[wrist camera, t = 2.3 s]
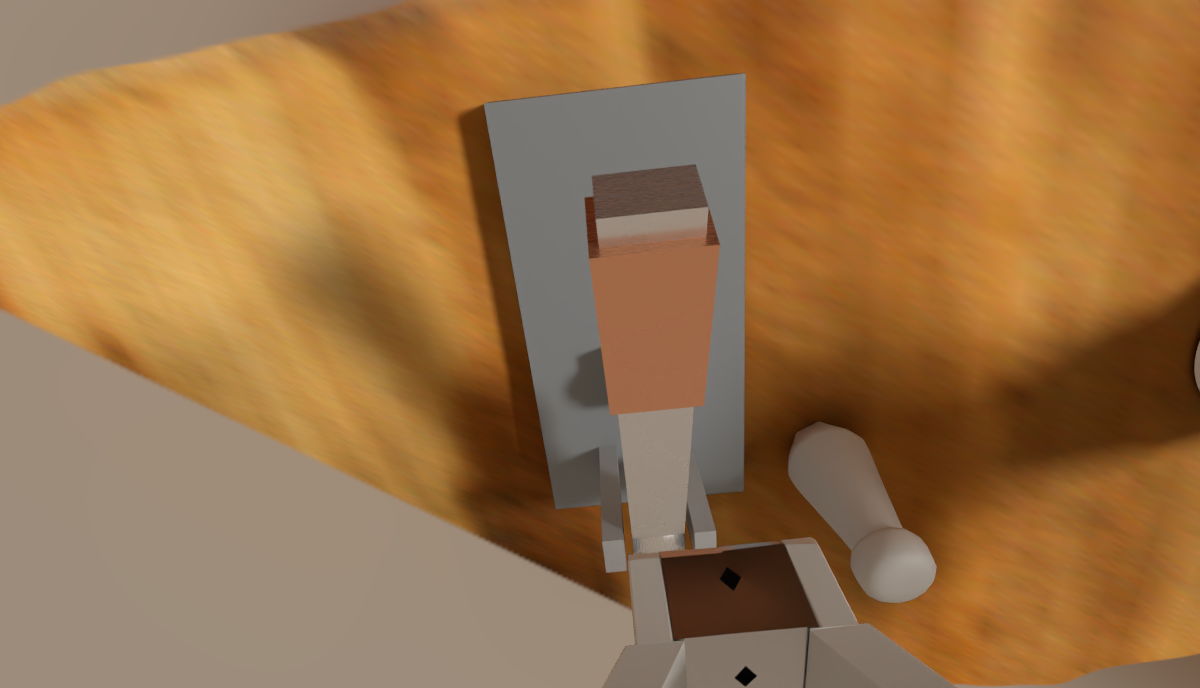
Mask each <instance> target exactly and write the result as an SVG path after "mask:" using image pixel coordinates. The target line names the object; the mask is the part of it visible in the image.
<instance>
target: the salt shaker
mask: <svg viewBox="0 0 1200 688" xmlns="http://www.w3.org/2000/svg"><path fill="white" fill-rule="evenodd" d="M788 474H789V477H790V479H791V480H792V482H793V484H794V485H795V487H796V488H797V489H798V491H799V492H800V493H801V494H802V495H803V496H804V497H805V498H806V500H807V501H808V502H809V503H810V504H811V505H812V506H813V507H814V508H815V510H816V511H817V512H818V513H819V514H820V515H821V516H822V517H823V519H824V520H825V521H826V522H827V523H828V524H829V525H830V526H831V528H832V529H833V530H834V531H835V532H836V533H837V534H838V535H839V537H840V538H841V539H842V540H843V541H844V543H845V544H846V545H847V546H848V547H849V548H850V550H851V551H852V552H851V560H850V566H851V570H852V572H853V574H854V576H855V578H856V580H857V581H858V583H859V584H860V586H861V587H862V589H863V590H864V591H865V592H866V594H867V595H868V596H870V597H872V598H874V599H876V600H878V601H881V602H889V603H901V602H905V601H909V600H913V599H915V598H916V597H918V596H920V595H921V594H923V593H924V592H925V591H926V590H927V589H928V588H929V586H930V585H931V584H932V583H933V581H934V579H935V574H936V568H937V566H936V564H935V562H934V559H933V557H932V555H931V553H930V551H929V549H928V547H927V545H926V544H925V543H924V542H923V540H922V539H921V538H920V537H919V536H917V535H916V534H914V533H912V532H910V531H908V530H907V529H905V528H902V526H901V523H900V521H899V519H898V517H897V514H896V512H895V510H894V507H893V505H892V503H891V501H890V498H889V496H888V494H887V491H886V489H885V487H884V484H883V482H882V480H881V478H880V475H879V473H878V470H877V468H876V465H875V463H874V460H873V458H872V455H871V453H870V451H869V449H868V447H867V445H866V443H865V441H864V440H863V439H862V438H861V437H860V436H858V435H856V434H854V433H853V432H851V431H849V430H848V429H845V428H841V427H837V426H833V425H829V424H826V423H823V422H819V421H818V422H816V423H814V424H812V425H810V426H808V427H806V428H804V429H802V430H800V431H798V432H796V434H795V437H794V441H793V444H792V447H791V450H790V454H789V459H788Z"/></svg>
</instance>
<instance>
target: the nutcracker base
mask: <svg viewBox="0 0 1200 688" xmlns="http://www.w3.org/2000/svg"><path fill="white" fill-rule="evenodd" d="M484 109H485V114H486V120H487V126H488V131H489V137H490V143H491V148H492V154H493V159H494V165H495V171H496V176H497V182H498V188H499V193H500V199H501V204H502V210H503V216H504V221H505V227H506V233H507V238H508V244H509V249H510V255H511V261H512V266H513V272H514V278H515V283H516V289H517V294H518V300H519V306H520V311H521V317H522V323H523V328H524V334H525V339H526V345H527V351H528V356H529V362H530V368H531V373H532V379H533V384H534V390H535V396H536V401H537V407H538V413H539V418H540V424H541V429H542V435H543V441H544V446H545V452H546V458H547V463H548V469H549V474H550V480H551V486H552V491H553V497H554V503H555V508H556V509H564V508H574V507H584V506H595V505H601V524H602V545H603V552H604V559H605V567H606V573H609V572H619V571H627V565H626V552H625V540H624V527H623V515H622V503H626V502H628V497H627V488H626V479H625V471H624V462H623V453H622V444H621V436H620V427H619V418H618V415H610V411H609V403H608V396H607V388H606V381H605V374H604V366H603V359H602V351H601V344H600V337H599V329H598V322H597V314H596V307H595V300H594V292H593V285H592V277H591V270H590V263H589V252H588V239H587V225H586V212H585V199H584V197H593V185H592V176H594V175H603V174H612V173H621V172H630V171H639V170H648V169H657V168H665V167H674V166H683V165H692V164H696V167H697V170H698V174H699V177H700V180H701V183H702V186H703V190H704V193H705V196H706V200H707V203H708V206H709V210H710V213H711V216H712V220H713V223H714V226H715V230H716V233H717V236H718V240H719V243H720V250H719V260H718V270H717V280H716V290H715V300H714V311H713V321H712V331H711V341H710V351H709V361H708V371H707V381H706V392H705V402H704V406H698V407H694V411H693V425H692V438H691V452H690V465H689V479H688V493H687V506H686V521H687V526H688V530H689V535H690V539H691V544H692V548H693V549H703V548H717V546H716V529H715V525H714V521H713V518H712V514H711V511H710V507H709V504H708V500H707V497H706V495H709V494H720V493H730V492H741V491H744V349H745V110H746V73H740V74H728V75H720V76H711V77H702V78H694V79H685V80H676V81H668V82H659V83H650V84H642V85H633V86H624V87H616V88H607V89H599V90H590V91H581V92H573V93H564V94H555V95H547V96H538V97H529V98H521V99H512V100H503V101H495V102H488V103H484Z"/></svg>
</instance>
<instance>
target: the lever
mask: <svg viewBox="0 0 1200 688" xmlns="http://www.w3.org/2000/svg"><path fill="white" fill-rule="evenodd" d="M592 185H593V197H584V199H585V212H586V225H587V239H588V252H589V263H590V270H591V277H592V285H593V292H594V300H595V307H596V314H597V322H598V329H599V337H600V344H601V351H602V359H603V366H604V374H605V381H606V388H607V396H608V403H609V411H610V415H618V418H619V427H620V436H621V444H622V453H623V462H624V471H625V479H626V488H627V497H628V505H629V514H630V523H631V532H632V540H633V550H634V554H642V553H656V552H659V553H660V552H661V551H675V550H685V534H684V533H685V520H686V506H687V493H688V479H689V465H690V452H691V438H692V425H693V411H694V407H698V406H704V402H705V392H706V381H707V371H708V361H709V351H710V341H711V331H712V321H713V311H714V300H715V290H716V280H717V270H718V260H719V250H720V243H719V240H718V236H717V233H716V230H715V226H714V223H713V220H712V216H711V213H710V210H709V206H708V203H707V200H706V196H705V193H704V190H703V186H702V183H701V180H700V177H699V174H698V170H697V167H696V164H692V165H683V166H674V167H665V168H657V169H648V170H639V171H630V172H621V173H612V174H603V175H594V176H592Z"/></svg>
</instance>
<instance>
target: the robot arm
mask: <svg viewBox="0 0 1200 688" xmlns="http://www.w3.org/2000/svg"><path fill="white" fill-rule="evenodd" d="M1195 379H1196V383H1197V386H1198V388H1199V391H1200V342H1199V345H1198V348H1197V352H1196V357H1195ZM628 569H629V581H630V592H631V603H632V614H633V625H634V636H635V645H629V646H625V648H624V650H623V652H622V653H621V655H620V657H619V659H618V660H617V662H616V664H615V665H614V667H613V669H612V671H611V673H610V674H609V676H608V678H607V680H606V681H605V683H604V685H603V687H602V688H957V687H956V686H954V685H953V684H951V683H950V682H949V681H947V680H946V679H945V678H943V677H942V676H940V675H939V674H938V673H936V672H935V671H934V670H932V669H931V668H929V667H928V666H927V665H925V664H924V663H923V662H921V661H920V660H919V659H917V658H916V657H914V656H913V655H912V654H910V653H909V652H908V651H906V650H905V649H903V648H902V647H901V646H899V645H898V644H897V643H895V642H894V641H892V640H891V639H890V638H888V637H887V636H886V635H884V634H883V633H881V632H880V631H879V630H877V629H876V628H875V627H873V626H872V625H870V624H869V623H865V624H858V622H857V620H856V618H855V616H854V614H853V612H852V610H851V608H850V606H849V604H848V602H847V600H846V598H845V596H844V594H843V592H842V590H841V588H840V586H839V584H838V582H837V580H836V578H835V576H834V574H833V572H832V570H831V568H830V566H829V565H828V563H827V561H826V559H825V557H824V555H823V553H822V551H821V549H820V547H819V545H818V543H817V541H816V540H815V539H813V538H812V537H806V538H797V539H787V540H781V541H778V540H777V541H768V542H759V543H749V544H740V545H731V546H722V547H718V548H703V549H689V550H675V551H661V552H660V553H659V552H656V553H642V554H628Z"/></svg>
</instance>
